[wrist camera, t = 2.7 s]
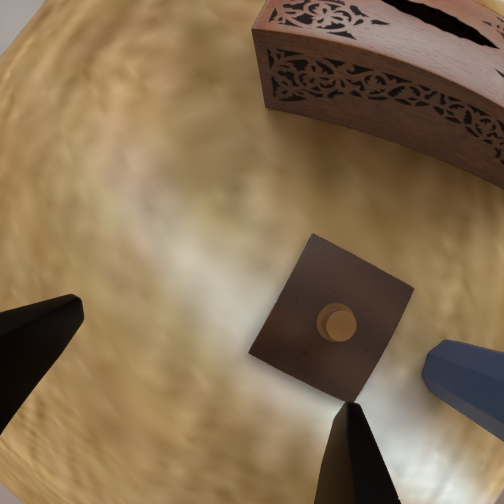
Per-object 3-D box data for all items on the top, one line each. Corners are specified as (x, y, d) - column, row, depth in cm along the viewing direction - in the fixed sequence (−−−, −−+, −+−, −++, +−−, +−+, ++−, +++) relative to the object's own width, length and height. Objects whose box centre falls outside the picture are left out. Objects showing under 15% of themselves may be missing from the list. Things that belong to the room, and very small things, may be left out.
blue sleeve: (458, 394, 20) (549, 445, 7) (416, 390, 21) (502, 454, 8) (473, 343, 21) (577, 366, 8) (431, 336, 21) (535, 363, 9)
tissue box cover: (265, 107, 26) (251, 28, 16) (300, 16, 27) (298, -51, 17) (512, 193, 22) (575, 157, 12) (503, 88, 23) (541, 41, 13)
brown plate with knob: (349, 400, 22) (359, 419, 18) (250, 350, 23) (241, 361, 19) (409, 288, 22) (430, 286, 18) (311, 236, 24) (315, 223, 20)
